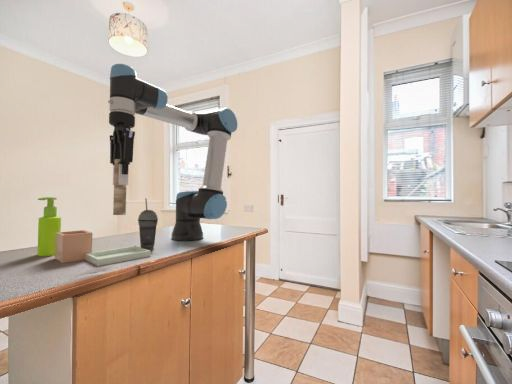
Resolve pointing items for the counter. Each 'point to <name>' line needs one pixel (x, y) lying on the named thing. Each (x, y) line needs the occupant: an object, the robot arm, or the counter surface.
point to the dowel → (119, 193)
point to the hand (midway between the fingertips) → (120, 184)
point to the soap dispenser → (48, 228)
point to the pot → (72, 245)
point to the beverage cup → (147, 228)
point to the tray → (116, 255)
